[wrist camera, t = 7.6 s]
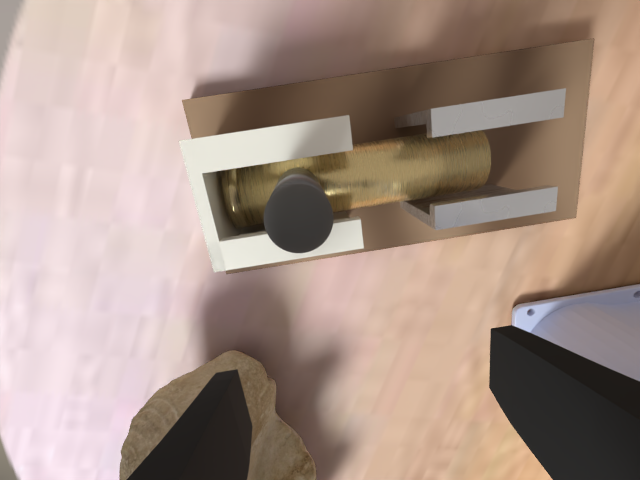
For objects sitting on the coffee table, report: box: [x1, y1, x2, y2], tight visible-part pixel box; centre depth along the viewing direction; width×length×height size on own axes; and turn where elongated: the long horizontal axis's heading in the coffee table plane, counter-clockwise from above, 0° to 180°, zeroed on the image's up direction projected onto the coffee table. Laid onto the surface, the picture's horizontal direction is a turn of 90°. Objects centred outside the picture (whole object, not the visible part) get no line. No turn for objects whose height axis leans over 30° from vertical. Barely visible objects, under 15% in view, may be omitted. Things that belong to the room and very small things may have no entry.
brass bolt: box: [221, 130, 491, 253], centre depth 12 cm, size 11×3×9 cm, turn 98°
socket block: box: [179, 115, 364, 272], centre depth 14 cm, size 6×5×5 cm
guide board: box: [182, 38, 594, 274], centre depth 15 cm, size 20×9×6 cm, turn 98°
